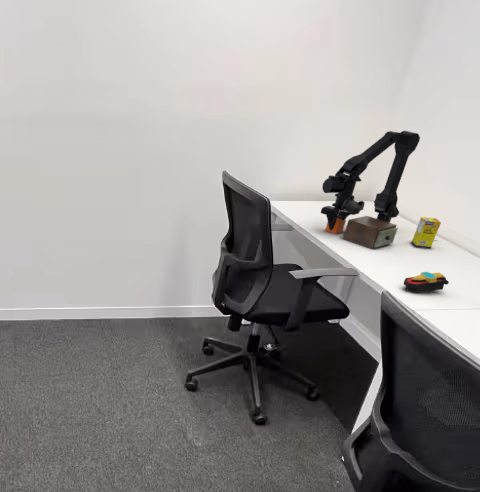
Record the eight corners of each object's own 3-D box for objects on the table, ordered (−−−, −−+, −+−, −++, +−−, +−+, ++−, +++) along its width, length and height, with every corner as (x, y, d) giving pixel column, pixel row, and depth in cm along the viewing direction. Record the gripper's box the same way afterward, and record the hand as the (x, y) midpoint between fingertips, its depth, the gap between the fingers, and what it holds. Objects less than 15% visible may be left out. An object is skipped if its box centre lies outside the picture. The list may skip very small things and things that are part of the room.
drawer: (395, 244, 223) (400, 229, 220) (378, 248, 218) (384, 233, 215) (365, 234, 233) (370, 219, 229) (348, 238, 227) (353, 223, 224)
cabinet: (389, 244, 226) (396, 224, 221) (371, 248, 220) (378, 229, 215) (360, 234, 235) (366, 215, 231) (342, 238, 229) (348, 219, 225)
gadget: (397, 289, 189) (400, 274, 186) (434, 283, 189) (438, 268, 186) (408, 296, 184) (411, 281, 181) (446, 291, 184) (451, 276, 181)
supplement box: (430, 248, 223) (441, 222, 217) (415, 247, 224) (425, 220, 218) (426, 244, 228) (436, 218, 222) (410, 242, 229) (420, 216, 223)
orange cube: (332, 228, 240) (335, 217, 237) (342, 232, 237) (345, 220, 234) (325, 230, 238) (328, 218, 235) (335, 233, 235) (338, 222, 232)
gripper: (348, 199, 218) (337, 237, 227) (376, 194, 227) (363, 231, 236) (325, 192, 226) (314, 229, 235) (352, 188, 235) (341, 224, 243)
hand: (334, 228), depth 237 cm, fingers closed on orange cube, 5 cm apart
